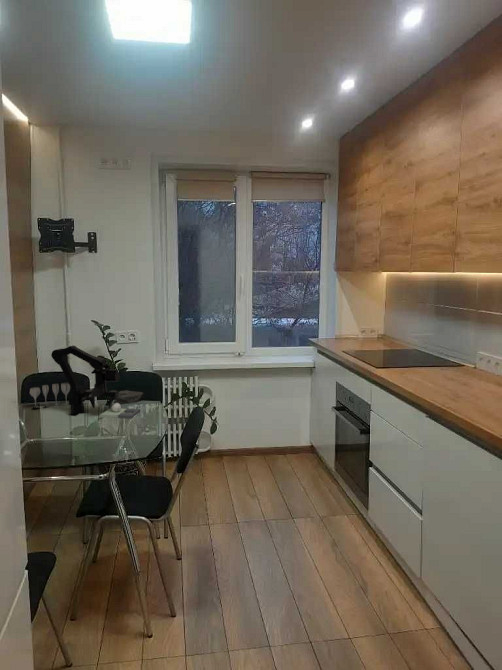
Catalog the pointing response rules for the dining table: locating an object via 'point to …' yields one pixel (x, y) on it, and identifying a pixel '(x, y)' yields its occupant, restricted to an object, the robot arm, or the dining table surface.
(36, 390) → the goblet set
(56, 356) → the robot arm
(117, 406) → the ball
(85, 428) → the dining table surface
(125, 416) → the panel
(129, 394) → the stone
